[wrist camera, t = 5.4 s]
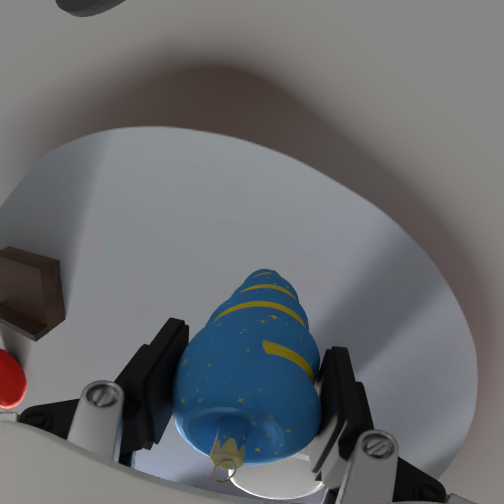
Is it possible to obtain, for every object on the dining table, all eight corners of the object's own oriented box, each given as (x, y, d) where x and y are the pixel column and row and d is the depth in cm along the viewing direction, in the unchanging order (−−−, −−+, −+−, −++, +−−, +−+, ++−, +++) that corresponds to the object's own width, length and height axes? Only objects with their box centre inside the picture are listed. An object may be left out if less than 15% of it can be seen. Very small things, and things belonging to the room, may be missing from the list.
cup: (261, 428, 37) (248, 502, 25) (235, 377, 35) (211, 456, 23) (332, 415, 35) (338, 492, 23) (316, 360, 33) (320, 444, 21)
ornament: (320, 293, 20) (354, 499, 6) (253, 321, 21) (204, 519, 7) (287, 224, 19) (279, 394, 5) (217, 258, 20) (97, 430, 6)
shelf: (9, 246, 36) (-23, 258, 29) (59, 260, 35) (23, 277, 28) (16, 299, 38) (-12, 315, 31) (65, 319, 37) (35, 342, 30)
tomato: (-5, 354, 44) (-37, 378, 34) (3, 328, 41) (-36, 355, 30) (30, 396, 45) (1, 425, 35) (42, 377, 42) (7, 410, 32)
